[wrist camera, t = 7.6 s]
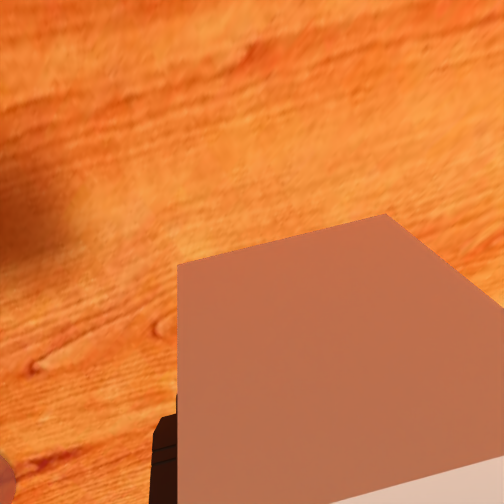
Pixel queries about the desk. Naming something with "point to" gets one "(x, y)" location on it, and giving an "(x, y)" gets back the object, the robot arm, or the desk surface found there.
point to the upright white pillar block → (338, 374)
